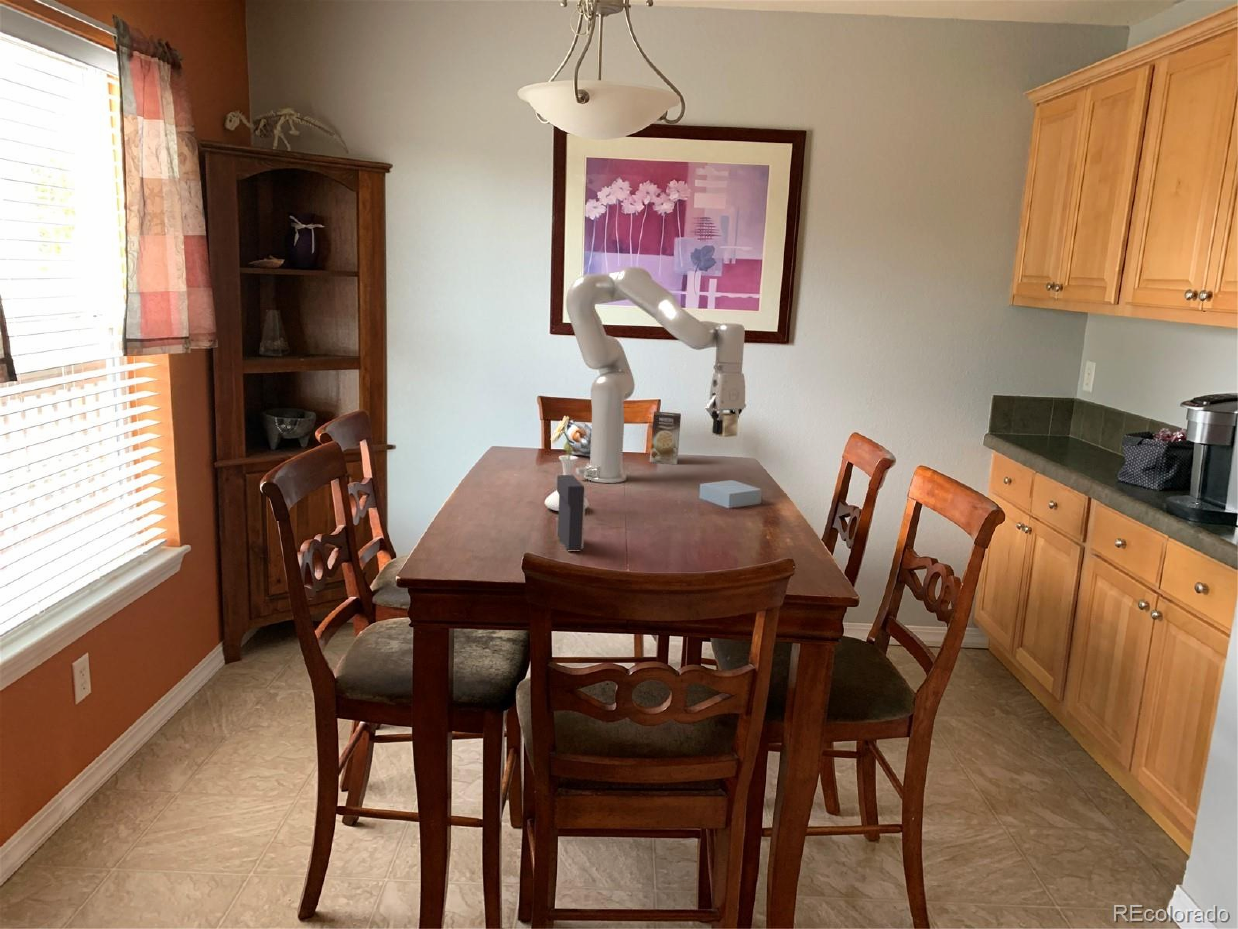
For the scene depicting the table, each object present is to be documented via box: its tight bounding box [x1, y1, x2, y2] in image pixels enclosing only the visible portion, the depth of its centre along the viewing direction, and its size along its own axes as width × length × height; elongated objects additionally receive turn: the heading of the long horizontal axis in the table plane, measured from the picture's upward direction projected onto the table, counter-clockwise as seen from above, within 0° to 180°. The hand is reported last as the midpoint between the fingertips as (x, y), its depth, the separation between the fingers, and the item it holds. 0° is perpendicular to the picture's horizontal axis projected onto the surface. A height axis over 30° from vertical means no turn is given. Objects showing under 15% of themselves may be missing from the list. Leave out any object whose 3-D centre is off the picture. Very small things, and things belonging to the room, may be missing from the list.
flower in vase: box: [544, 415, 590, 512], centre depth 231 cm, size 13×11×25 cm
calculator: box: [556, 474, 586, 551], centre depth 204 cm, size 11×4×15 cm, turn 17°
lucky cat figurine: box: [565, 419, 592, 457], centre depth 301 cm, size 15×12×14 cm
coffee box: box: [649, 411, 682, 465], centre depth 297 cm, size 9×6×16 cm
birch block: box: [711, 411, 739, 438], centre depth 256 cm, size 5×5×6 cm
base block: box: [698, 479, 763, 509], centre depth 252 cm, size 12×12×4 cm
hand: (724, 432), depth 257 cm, fingers closed on birch block, 5 cm apart
